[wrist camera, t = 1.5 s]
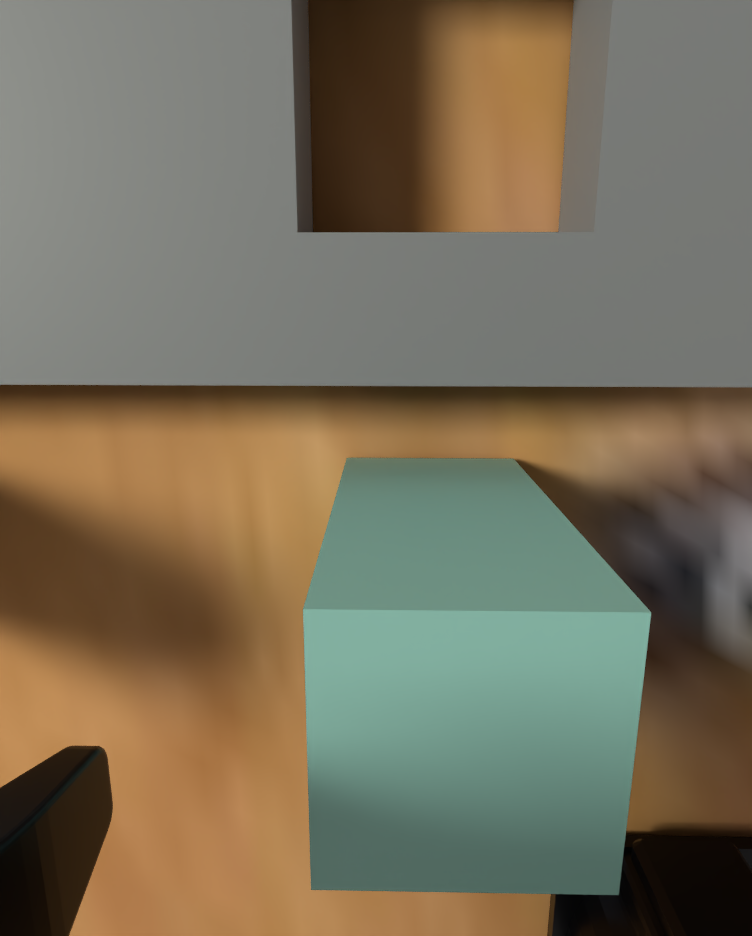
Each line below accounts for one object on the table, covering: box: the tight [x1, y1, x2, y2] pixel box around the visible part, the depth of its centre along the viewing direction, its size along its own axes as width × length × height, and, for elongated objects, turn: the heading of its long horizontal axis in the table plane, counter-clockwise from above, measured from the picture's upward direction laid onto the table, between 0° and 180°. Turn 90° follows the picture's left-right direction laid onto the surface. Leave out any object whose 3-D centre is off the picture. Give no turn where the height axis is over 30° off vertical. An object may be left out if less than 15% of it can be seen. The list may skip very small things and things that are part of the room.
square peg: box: [303, 458, 651, 895], centre depth 12 cm, size 4×4×8 cm
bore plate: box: [0, 0, 752, 387], centre depth 12 cm, size 11×20×2 cm, turn 90°
